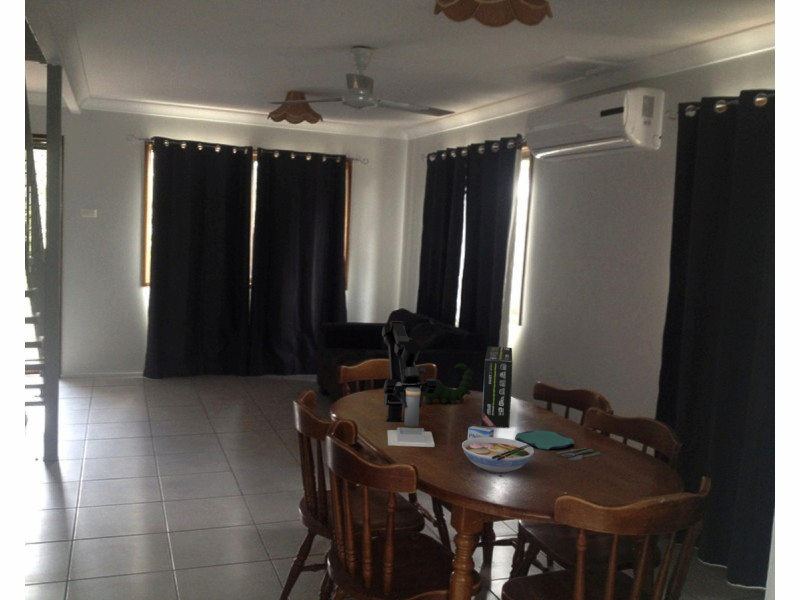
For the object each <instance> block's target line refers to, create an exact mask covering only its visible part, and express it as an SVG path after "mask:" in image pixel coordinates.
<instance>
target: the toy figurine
mask: <svg viewBox="0 0 800 600" xmlns="http://www.w3.org/2000/svg"><path fill="white" fill-rule="evenodd" d="M457 368H458V369H459V368H460V369H461V370H463V371H464V373H463V375H462V380H460V385H459V386H458V387H457V388H452V387H451V388H450V387H449V386H446V385H444V384H443V382H441V380H439V379H438V378H434V377H433V378H428V379H427V380H436V381H437V385H438V386H437V388H436V391H435V393H434V394H427V395H426V396H424V397H425V399H424V402H425V403H426V404H428V405H431V404H432V403H433V401H436V400H438V401H439V402H441V404H442V405H443V404H447V403H451V405H453V404H454V405H455V404H456V403H457V401H459V402H460V403H464V401H465V398H464V397H465V395H468V396H469V395H471V391H470V390H469V388H472V386H473V385H472V384H471V381H473V380H474V379H473V377H472V375H474V371H472V369H470V368H468V366H467V365H466V364H465V363H457V364H456V365H455V366H454V370H455V369H457ZM418 383H419V384H424V383H425V381H424V382H418Z"/></svg>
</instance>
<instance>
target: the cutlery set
mask: <svg viewBox="0 0 800 600" xmlns="http://www.w3.org/2000/svg"><path fill="white" fill-rule="evenodd" d="M514 440H517V441H519V442H522V443H525V444H531V443H533V445H532V444H531V447H534V448H538V449H540V450H547V451H548V450H550V449H553V450H554V449H555V450H557V449H564V448H567V447H570V446H573V447H575V440H574V439H573V438H571V437H568V436H566V435H563V434H560V433H557V432H554V431H549V430H541V429H540V430H539V429H537V430H529V431H528V430H527V431H523V432H517V433H516V435H515V437H514ZM534 443H536V444H534ZM580 450H583V451H580ZM577 451H578V452H577ZM579 451H580V452H579ZM574 452H576V453H574ZM592 452H593V453H592ZM585 453H590V454H587V455H583V454H585ZM601 453H602V452H600V451H598V452H594V449H592V448H591V449H587V447H583V448H577V449H575V448H572V449H570V450H563V451H558V452H556V453H555V455H556V454H557V455H561V456H562V457H563V458H567V456H568V458H569V461H577V460H582V459H583V458H590V457H596V456H601Z"/></svg>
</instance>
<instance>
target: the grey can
mask: <svg viewBox="0 0 800 600" xmlns="http://www.w3.org/2000/svg"><path fill="white" fill-rule="evenodd" d="M420 393H421V390H420V388H418V387H407V388H406V406H407V407H406V408H405V407H404V420H403V422H404V424H403V425H404V426H406V427H410V428H415V427H418V426H419V421H420V407H419V406H420Z"/></svg>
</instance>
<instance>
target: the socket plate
mask: <svg viewBox="0 0 800 600" xmlns="http://www.w3.org/2000/svg"><path fill="white" fill-rule="evenodd" d="M387 446H399V447H423V448H424V447H426V448H435V440H434V436H433V434H432V431H425V429H424V428H423V427H422V428H421V427H396V429H394V430H393V429H387Z"/></svg>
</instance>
